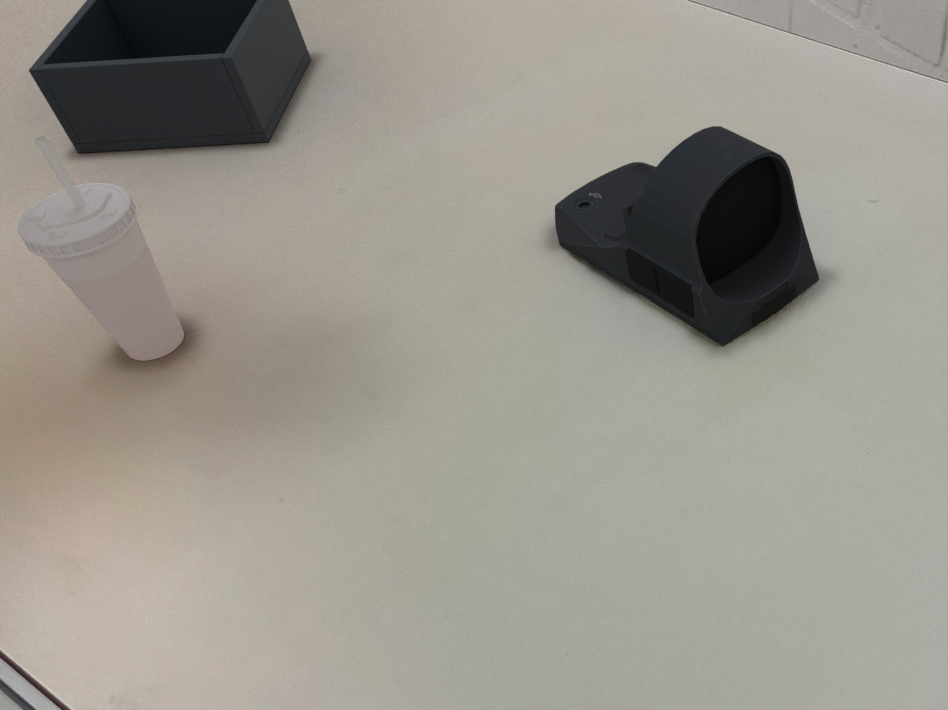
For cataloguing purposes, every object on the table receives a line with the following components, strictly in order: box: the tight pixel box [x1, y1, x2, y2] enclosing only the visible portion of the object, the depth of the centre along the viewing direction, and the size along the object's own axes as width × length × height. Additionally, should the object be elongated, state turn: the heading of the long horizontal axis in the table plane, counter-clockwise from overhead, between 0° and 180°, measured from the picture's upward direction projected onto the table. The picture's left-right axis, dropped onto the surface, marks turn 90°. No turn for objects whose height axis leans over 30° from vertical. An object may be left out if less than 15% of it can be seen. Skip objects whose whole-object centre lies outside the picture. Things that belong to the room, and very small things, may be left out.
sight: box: [554, 125, 820, 347], centre depth 68 cm, size 9×18×10 cm, turn 45°
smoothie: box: [17, 135, 185, 362], centre depth 64 cm, size 6×6×14 cm
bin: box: [28, 0, 312, 154], centre depth 87 cm, size 16×14×7 cm
